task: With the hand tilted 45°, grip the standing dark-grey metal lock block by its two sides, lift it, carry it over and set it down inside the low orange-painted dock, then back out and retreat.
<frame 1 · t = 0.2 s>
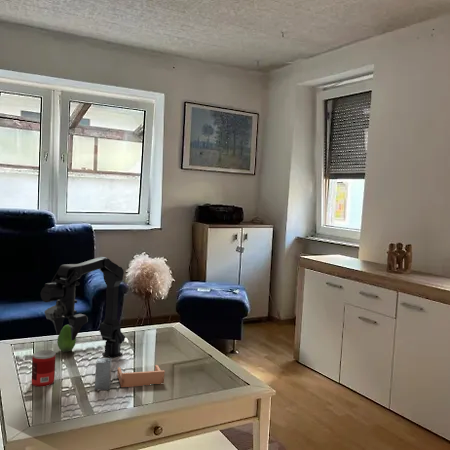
hand: (65, 337, 181), 14 cm above the table, tool pointing down, fingers open, 9 cm apart
canned food: (42, 383, 172), on the table
lock block: (102, 386, 172), on the table
coupler dock: (140, 379, 181), on the table
fruit: (66, 351, 206), on the table
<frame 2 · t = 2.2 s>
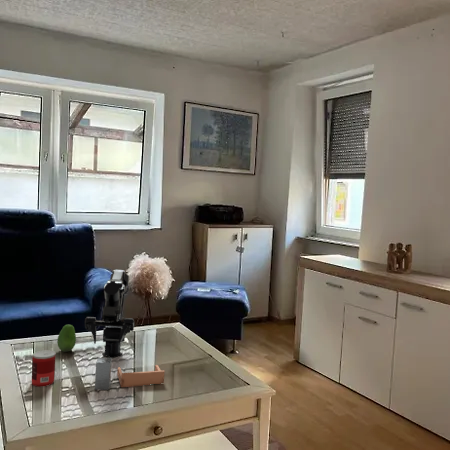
hand: (107, 343, 179), 13 cm above the table, tool tilted 45°, fingers open, 9 cm apart
nothing on the table moved.
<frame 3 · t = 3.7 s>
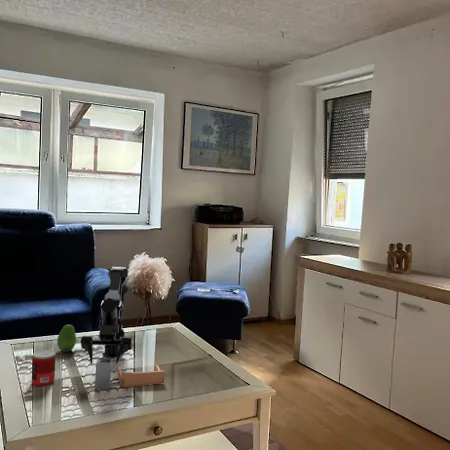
hand: (103, 364, 172), 8 cm above the table, tool tilted 45°, fingers open, 9 cm apart
nothing on the table moved.
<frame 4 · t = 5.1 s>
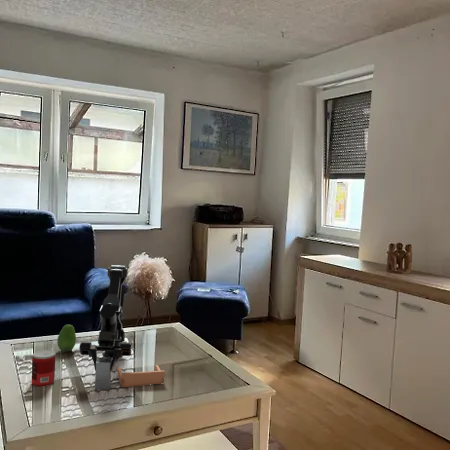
hand: (103, 370, 170), 7 cm above the table, tool tilted 45°, fingers closed on lock block, 5 cm apart
lock block: (102, 386, 172), on the table, touching gripper
everything else where it was.
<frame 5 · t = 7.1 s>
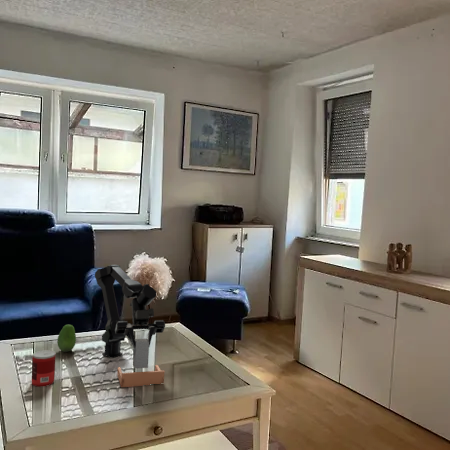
hand: (141, 347, 179), 13 cm above the table, tool tilted 45°, fingers closed on lock block, 5 cm apart
lock block: (140, 366, 180), point 5 cm above the table, tilted 5°, touching gripper
everything else where it was.
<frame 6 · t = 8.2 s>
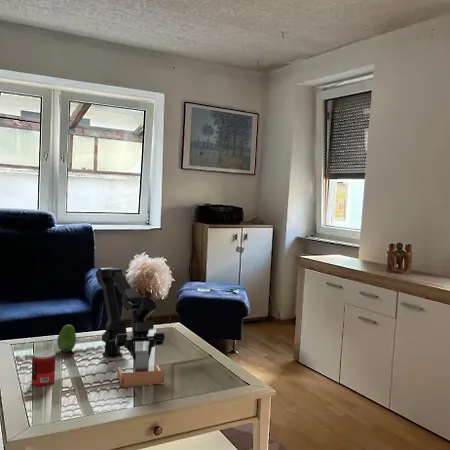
hand: (141, 359, 179), 8 cm above the table, tool tilted 45°, fingers closed on lock block, 5 cm apart
lock block: (140, 378, 181), point 1 cm above the table, touching coupler dock, gripper
everything else where it was.
when the fingers open (8 cm above the table, at t = 8.5 s): lock block stays where it is, resting on coupler dock.
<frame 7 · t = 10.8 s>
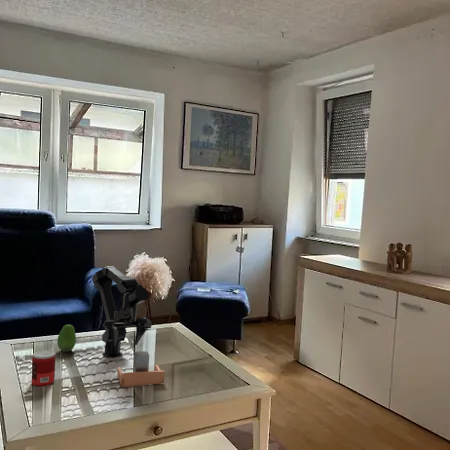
hand: (124, 345, 184), 12 cm above the table, tool tilted 35°, fingers open, 9 cm apart
lock block: (140, 378, 181), resting on coupler dock
everything else where it was.
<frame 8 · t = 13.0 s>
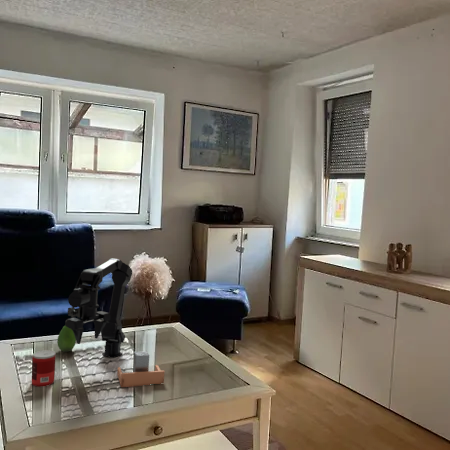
hand: (87, 341, 185), 12 cm above the table, tool pointing down, fingers open, 9 cm apart
nothing on the table moved.
at the end: lock block inside the target area on the coupler dock (0.5 cm from its centre), point 0.5 cm above the coupler dock's base; lock block tilted 0°; the gripper is holding nothing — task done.
